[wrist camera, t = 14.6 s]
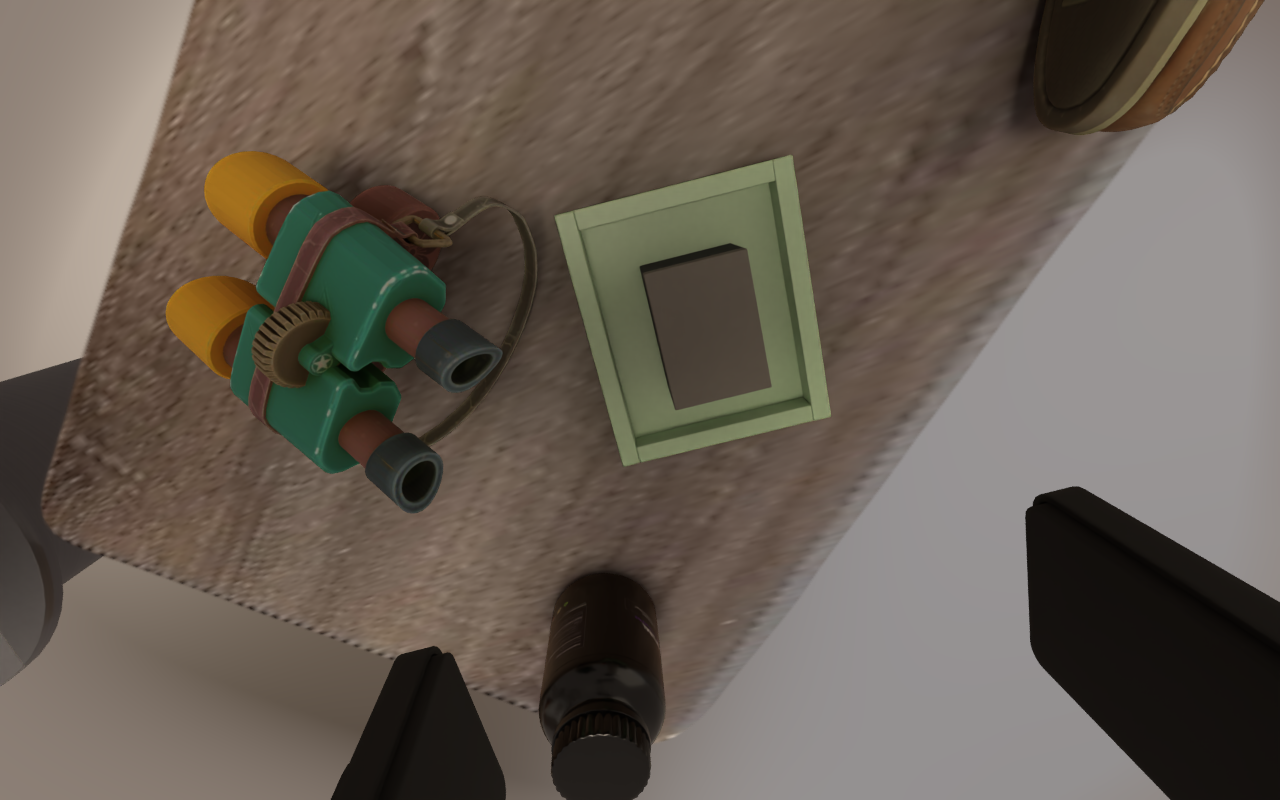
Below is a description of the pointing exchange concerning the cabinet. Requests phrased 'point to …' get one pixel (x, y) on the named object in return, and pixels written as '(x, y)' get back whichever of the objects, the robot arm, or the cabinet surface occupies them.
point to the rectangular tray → (621, 320)
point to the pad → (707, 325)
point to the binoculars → (341, 318)
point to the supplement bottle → (602, 689)
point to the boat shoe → (1129, 58)
